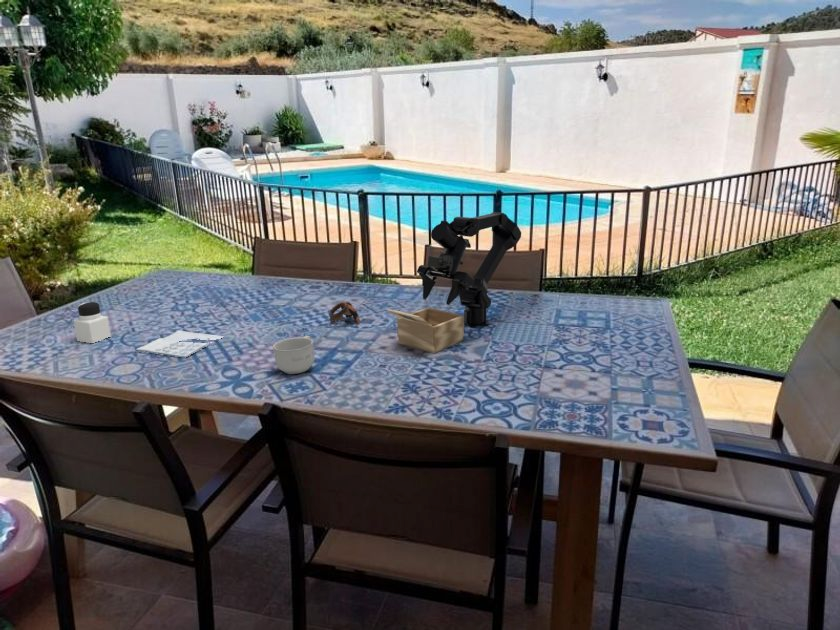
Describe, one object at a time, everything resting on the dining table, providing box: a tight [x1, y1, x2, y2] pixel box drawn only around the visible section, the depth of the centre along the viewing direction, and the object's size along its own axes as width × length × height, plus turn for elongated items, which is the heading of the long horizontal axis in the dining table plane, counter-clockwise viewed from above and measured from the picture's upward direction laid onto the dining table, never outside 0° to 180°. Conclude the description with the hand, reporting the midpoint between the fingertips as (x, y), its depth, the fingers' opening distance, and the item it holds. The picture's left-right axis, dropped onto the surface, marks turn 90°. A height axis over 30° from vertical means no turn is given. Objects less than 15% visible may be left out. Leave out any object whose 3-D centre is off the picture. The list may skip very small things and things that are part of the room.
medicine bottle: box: [73, 301, 112, 344], centre depth 200 cm, size 7×7×12 cm
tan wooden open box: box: [396, 307, 465, 354], centre depth 192 cm, size 14×15×8 cm
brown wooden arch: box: [328, 301, 361, 325], centre depth 214 cm, size 12×10×8 cm
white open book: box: [136, 329, 225, 358], centre depth 195 cm, size 19×20×2 cm
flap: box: [386, 308, 432, 326], centre depth 183 cm, size 7×12×1 cm
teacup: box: [272, 335, 315, 375], centre depth 174 cm, size 14×11×8 cm
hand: (435, 301), depth 191 cm, fingers open, 9 cm apart
